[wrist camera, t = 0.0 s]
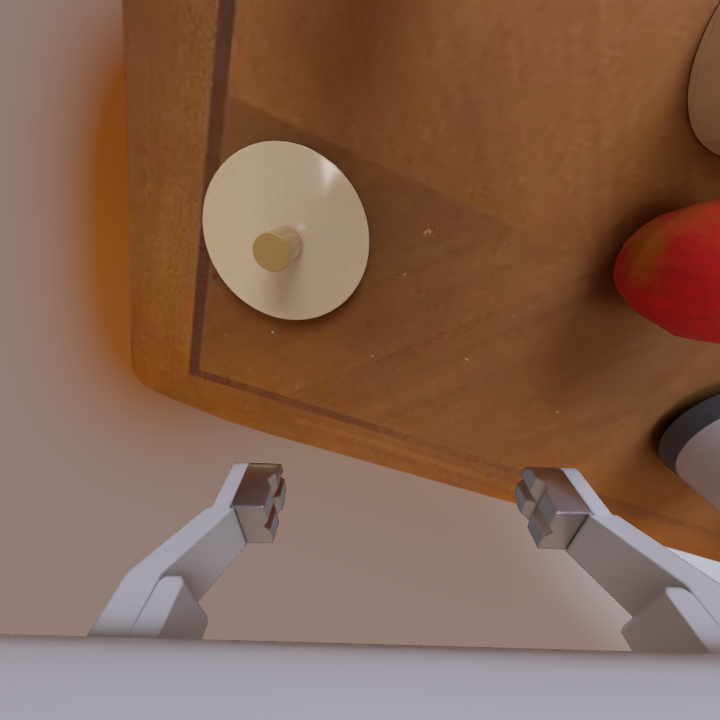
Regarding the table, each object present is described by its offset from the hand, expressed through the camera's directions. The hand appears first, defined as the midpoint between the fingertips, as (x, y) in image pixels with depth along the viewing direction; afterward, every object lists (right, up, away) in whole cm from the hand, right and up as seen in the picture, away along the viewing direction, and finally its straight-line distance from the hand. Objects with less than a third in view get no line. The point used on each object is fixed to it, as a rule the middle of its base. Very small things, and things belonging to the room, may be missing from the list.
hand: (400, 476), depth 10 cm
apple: (+23, +13, +15) cm, 30 cm away
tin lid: (-7, +14, +15) cm, 21 cm away
